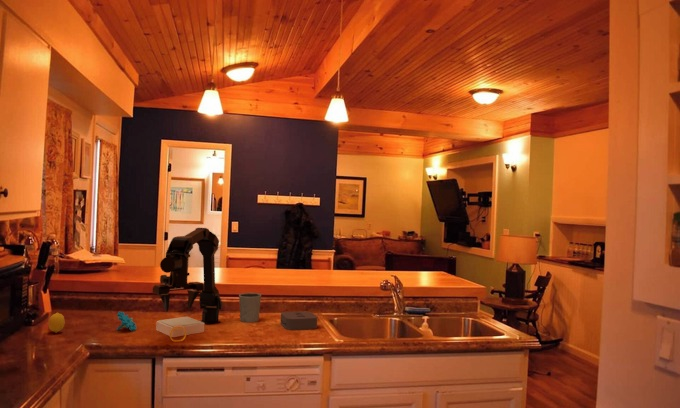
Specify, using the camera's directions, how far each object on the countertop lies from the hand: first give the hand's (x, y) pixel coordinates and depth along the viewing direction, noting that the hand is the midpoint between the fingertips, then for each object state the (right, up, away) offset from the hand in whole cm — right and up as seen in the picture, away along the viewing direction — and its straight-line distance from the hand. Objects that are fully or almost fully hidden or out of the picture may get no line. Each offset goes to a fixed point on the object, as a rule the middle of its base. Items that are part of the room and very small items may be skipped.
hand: (177, 310), depth 184 cm
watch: (0, -12, 0) cm, 12 cm away
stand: (-4, -12, +14) cm, 19 cm away
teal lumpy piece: (-25, -11, +12) cm, 30 cm away
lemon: (-49, -10, +3) cm, 50 cm away
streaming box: (+44, -15, +33) cm, 56 cm away
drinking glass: (+20, -14, +38) cm, 45 cm away
